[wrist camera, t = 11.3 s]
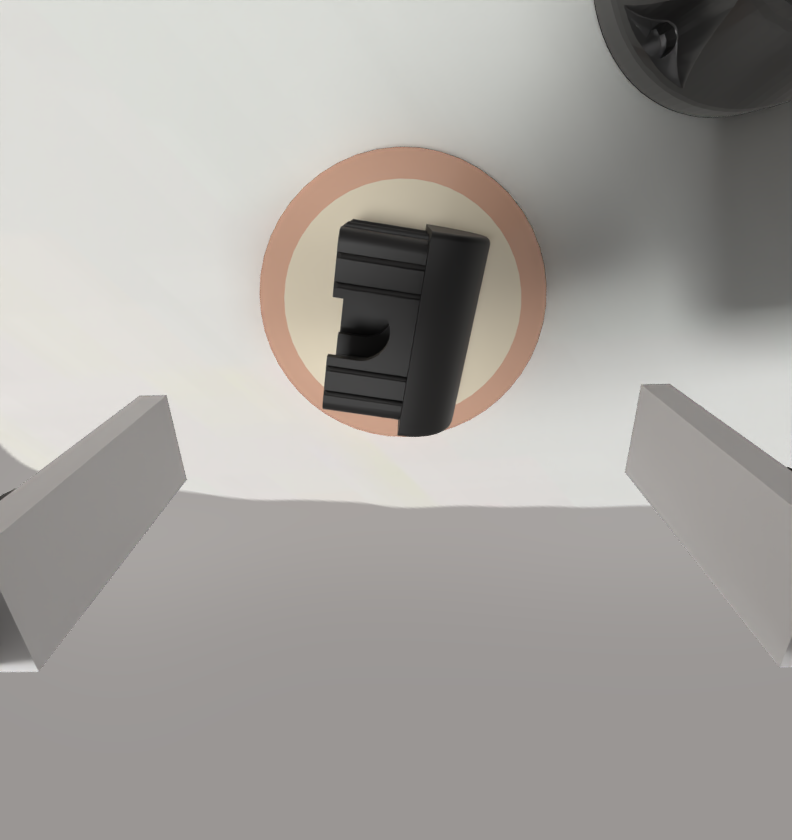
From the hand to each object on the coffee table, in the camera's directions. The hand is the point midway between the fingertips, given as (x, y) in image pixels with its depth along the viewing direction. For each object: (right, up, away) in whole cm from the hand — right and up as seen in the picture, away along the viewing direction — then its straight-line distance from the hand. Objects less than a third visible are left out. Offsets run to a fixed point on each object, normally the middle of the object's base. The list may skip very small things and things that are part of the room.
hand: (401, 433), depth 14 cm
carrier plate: (0, +8, +17) cm, 19 cm away
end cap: (0, +7, +16) cm, 17 cm away
